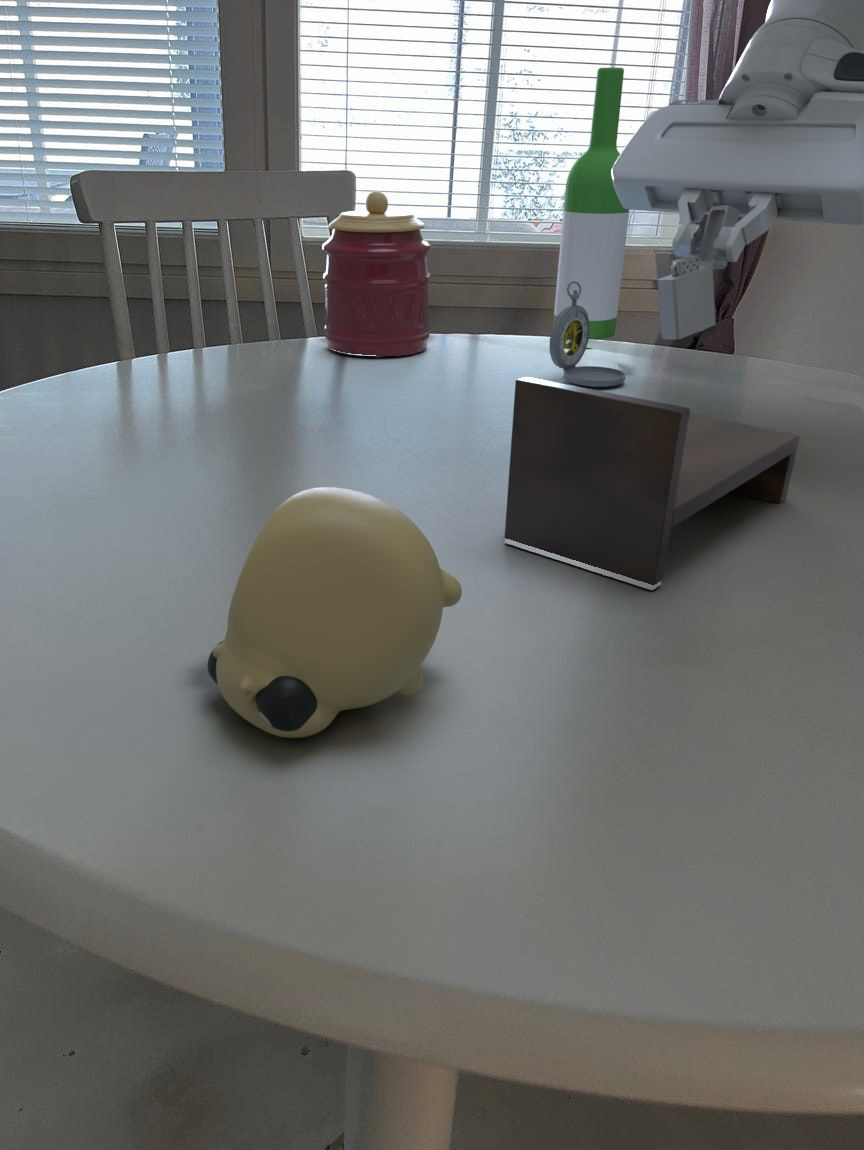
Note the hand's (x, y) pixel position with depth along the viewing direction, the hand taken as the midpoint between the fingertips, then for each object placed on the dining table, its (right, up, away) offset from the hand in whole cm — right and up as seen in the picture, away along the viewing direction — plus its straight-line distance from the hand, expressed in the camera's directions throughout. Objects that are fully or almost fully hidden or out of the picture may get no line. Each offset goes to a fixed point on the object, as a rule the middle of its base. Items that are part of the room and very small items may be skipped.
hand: (703, 253), depth 69 cm
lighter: (+1, -5, +3) cm, 5 cm away
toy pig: (-26, -31, -22) cm, 46 cm away
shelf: (-4, -20, -1) cm, 20 cm away
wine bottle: (+2, +9, +50) cm, 51 cm away
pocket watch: (-1, 0, +34) cm, 34 cm away
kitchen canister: (-24, +8, +48) cm, 55 cm away
